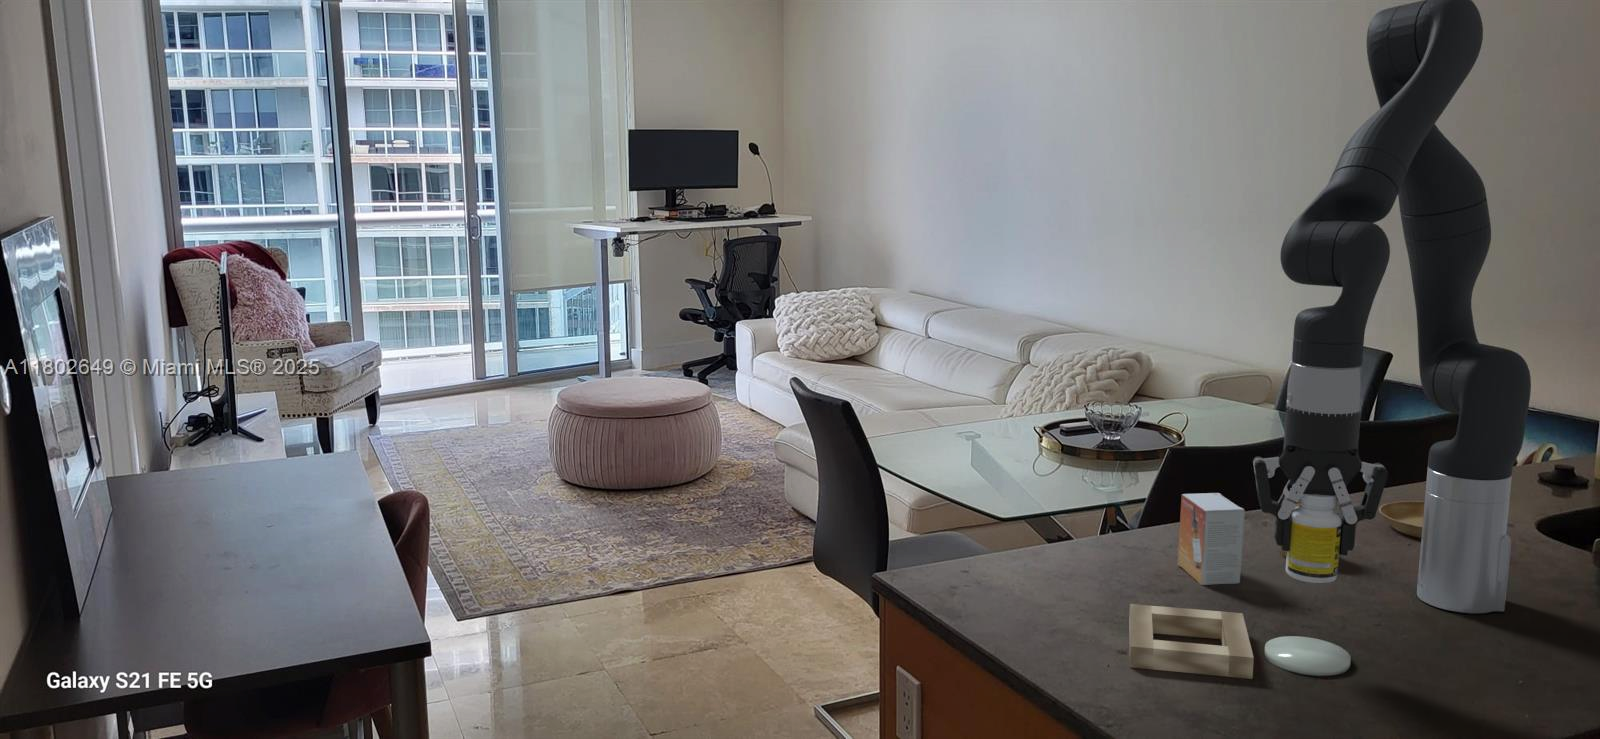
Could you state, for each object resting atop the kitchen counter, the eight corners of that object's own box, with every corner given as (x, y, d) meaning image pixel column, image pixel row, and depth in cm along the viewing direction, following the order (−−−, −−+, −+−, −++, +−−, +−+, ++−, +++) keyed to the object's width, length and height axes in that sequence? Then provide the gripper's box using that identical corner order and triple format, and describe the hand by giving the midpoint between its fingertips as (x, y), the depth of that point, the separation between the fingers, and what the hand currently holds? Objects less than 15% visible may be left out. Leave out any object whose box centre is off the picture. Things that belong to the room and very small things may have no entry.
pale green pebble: (1342, 646, 137) (1343, 640, 137) (1357, 679, 129) (1357, 672, 129) (1260, 639, 140) (1260, 633, 140) (1269, 671, 131) (1269, 664, 131)
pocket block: (1241, 632, 142) (1242, 613, 141) (1252, 679, 129) (1253, 657, 129) (1129, 623, 145) (1130, 603, 145) (1129, 667, 133) (1130, 646, 132)
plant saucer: (1356, 522, 184) (1357, 505, 183) (1431, 512, 188) (1432, 496, 188) (1432, 551, 170) (1433, 534, 169) (1511, 540, 174) (1512, 523, 174)
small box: (1176, 565, 165) (1180, 493, 163) (1215, 563, 165) (1219, 491, 163) (1200, 586, 157) (1204, 510, 155) (1241, 584, 158) (1245, 508, 156)
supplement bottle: (1342, 586, 129) (1349, 500, 128) (1290, 582, 131) (1296, 497, 129) (1331, 569, 135) (1337, 486, 133) (1281, 566, 136) (1286, 484, 134)
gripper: (1388, 400, 131) (1376, 545, 134) (1250, 394, 134) (1241, 535, 138) (1403, 414, 124) (1390, 567, 127) (1257, 407, 127) (1247, 557, 130)
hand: (1312, 550), depth 132 cm, fingers closed on supplement bottle, 5 cm apart
